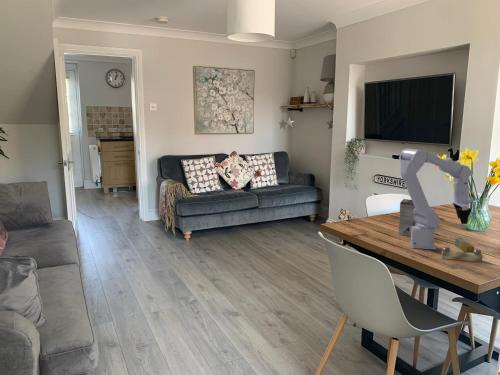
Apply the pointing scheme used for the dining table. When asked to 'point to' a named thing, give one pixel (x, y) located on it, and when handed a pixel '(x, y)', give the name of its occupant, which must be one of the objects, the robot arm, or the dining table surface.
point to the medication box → (464, 245)
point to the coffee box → (406, 217)
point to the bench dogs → (447, 250)
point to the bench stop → (461, 256)
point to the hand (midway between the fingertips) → (462, 221)
